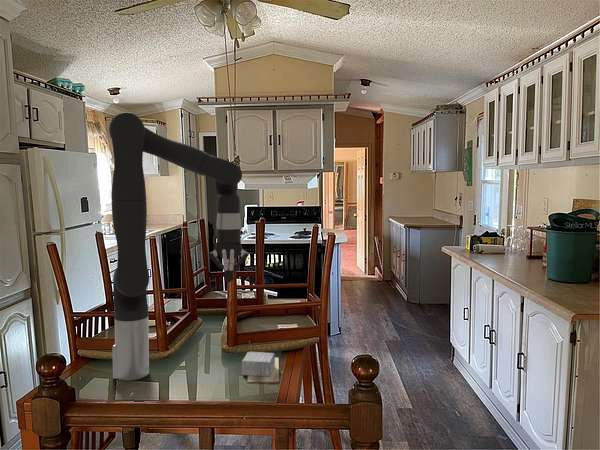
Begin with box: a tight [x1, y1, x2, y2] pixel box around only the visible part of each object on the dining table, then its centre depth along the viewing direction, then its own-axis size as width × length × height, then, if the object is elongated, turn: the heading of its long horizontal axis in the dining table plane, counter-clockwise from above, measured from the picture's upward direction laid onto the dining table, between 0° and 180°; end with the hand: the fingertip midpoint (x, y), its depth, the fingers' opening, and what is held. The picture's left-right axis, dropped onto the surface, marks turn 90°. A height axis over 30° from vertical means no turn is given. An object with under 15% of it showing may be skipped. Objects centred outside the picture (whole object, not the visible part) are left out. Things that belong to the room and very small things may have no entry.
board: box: [246, 357, 280, 384], centre depth 134 cm, size 9×18×1 cm, turn 4°
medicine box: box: [241, 351, 276, 376], centre depth 132 cm, size 8×4×9 cm
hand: (229, 281), depth 139 cm, fingers closed
